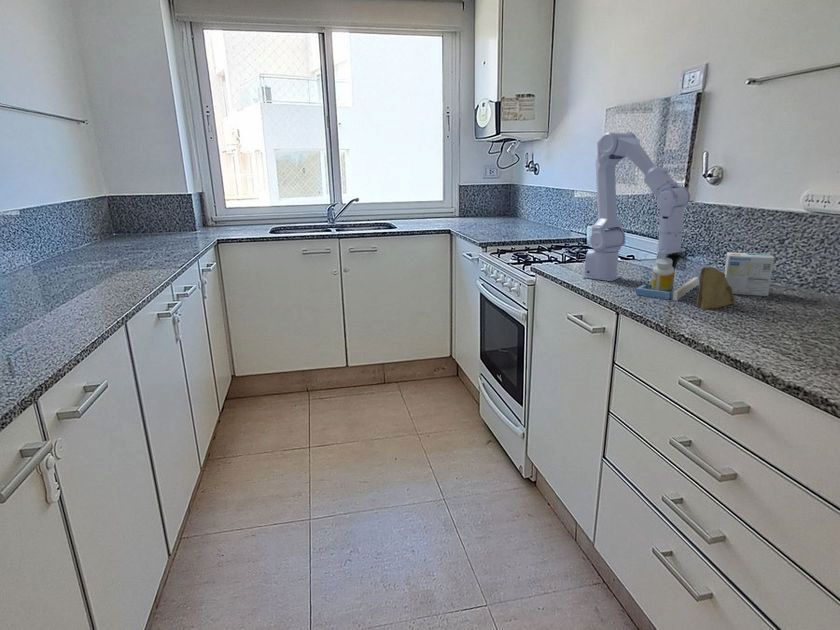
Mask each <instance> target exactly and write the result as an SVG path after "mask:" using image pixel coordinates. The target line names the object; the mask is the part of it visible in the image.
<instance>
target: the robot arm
mask: <svg viewBox="0 0 840 630" xmlns="http://www.w3.org/2000/svg"><path fill="white" fill-rule="evenodd" d="M596 147H597V155H596V160H595V174H596V175H595V177H596V179H595V180H596V200H597V203H596V204H597V205H596V206H597V221H596V222H595V223H594V224H593V225H592V226H591V233H590V238H589V243H590V247H592V248H591V249H588V250H587V252H586V255H585V260H584V273H583V274H584V275H583V276H582V277H583V278H584V279H585V278H587V279H592V280H600V281H601V280H602V281H609V282H613V281H615V280H617V279H619V278H621V277H622V275H621V274H617V273H618V263H619V255H620V254H619V253H620V250H621V248H622V247H623V245H624V244H625V242H626V234H625V231H624V229H623V223H622V222H621V221H620V220H619V219H618V218H617V215H618V214H617V213H618V212H617V210H618V209H617V191H616V166H617V165H618V164H619V162H621V161H622V160H623V159H625V158H628V159H629V160H630V161H631V162H632V163H633V164H634V165H635V166H636V168H638V169H639V171H641V172H642V174H643V175H644V183H645V184H646V186H648V188H649V189H650V191H652V193H653V194H654V195H655V197H656V204H657V207H658V209H659V215H660V219H659V232H658V242H657V243H658V245H657V249H656V250H657V254H656V260H657V259H666V257H667V258H670V259H672V261H673V263H672V266H673V268H674V271H675V269H676V267H677V265H678V263H679V261H680V260H681V257H682V255H681V254H677V253H680V252H682V253H683V252H686V248H685V247H682V239H683V227H684V218H685V217H684V215H685V208H686V206H687V205H689V202H690V200H691V193H690V192H689V191H690V190H688V188H687V187H685V186H683V185H681V186H680V185H679V183H678V182H677V181H675V180H674V179H673V177H672V176H671V175H669V173H668V172H669V170H668V168H666V167H662V166H656V165H655V164H654V162H653V161H652V159H651V157H649V155H648V153H647V152H646V150H645V149H644V148H643V146H642V145H641V140H640V139H639V137H637V136H636V134H634V133H633V132H630V131H628V132H612V131H607V132H605V133H604V134H603V135H602V136H601V137H600V138H599V140H598V141H597V145H596ZM675 253H676V254H675Z"/></svg>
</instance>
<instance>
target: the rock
mask: <svg viewBox="0 0 840 630" xmlns="http://www.w3.org/2000/svg"><path fill="white" fill-rule="evenodd" d="M698 284H699V290H698V293H697V297H696V298H697V299H696V305H697V307H698V308H699V309H701V310H703V309H704V310H707V309H708V310H709V309H711V308H712V309H719V308H721V307H722V308H723V307H725V306H729V305H733V304H736V301H735V296H734V294H733V292H732V289H731V287H730V286H729V285H728V282H727V280H726V278H725V274H724V272H722V271H720V270H718V269H716V268H715V267H702V268H701V271H700V274H699V278H698Z"/></svg>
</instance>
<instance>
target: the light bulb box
mask: <svg viewBox="0 0 840 630" xmlns="http://www.w3.org/2000/svg"><path fill="white" fill-rule="evenodd" d="M725 259H726V260H725V264H724V265H725V267H724V272H723V273H724V274H725V278H726V280H727V282H728V285H729V286H730V287H731V289H732V292H733V295H742V296H743V295H747V296H759V297H769V292H770V286H771V281H772V273H773V267H774V261H775V256H774V255H772V254H771V253H757V252H755V253H754V252H752V253H751V252H731V251H730V252H729V251H728V252H726V257H725Z"/></svg>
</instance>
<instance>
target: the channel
mask: <svg viewBox="0 0 840 630" xmlns="http://www.w3.org/2000/svg"><path fill="white" fill-rule="evenodd" d="M698 284H699V277H697V276H694V277H693V278H691V279H690V280H688V281H687V282H685V283H684V284H683V285H681V286H679V287H678V288H677V289H675V290H674V291H671V292H665V291H658V290H651V289H649V288H648V287H647V286H648V285H647V284H642V285H639V286H638V287H636V288H635V294H636V295H638V296H641V295H642V296H641V297H648V298H655V297H656V298H657V299H663V300H670V299H672V301H673V302H675V301H676V302H677V301H678V300H680V299H682V298H683V297H684V296H686V295H687V294H688V293H689V292H691V291H692V290H693V288H694V287H695V288H696V287H697V286H698ZM649 286H652V279H651V280H650V282H649ZM695 288H694V289H695ZM690 290H691V291H690ZM686 293H687V294H686ZM656 298H655V299H656Z"/></svg>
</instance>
